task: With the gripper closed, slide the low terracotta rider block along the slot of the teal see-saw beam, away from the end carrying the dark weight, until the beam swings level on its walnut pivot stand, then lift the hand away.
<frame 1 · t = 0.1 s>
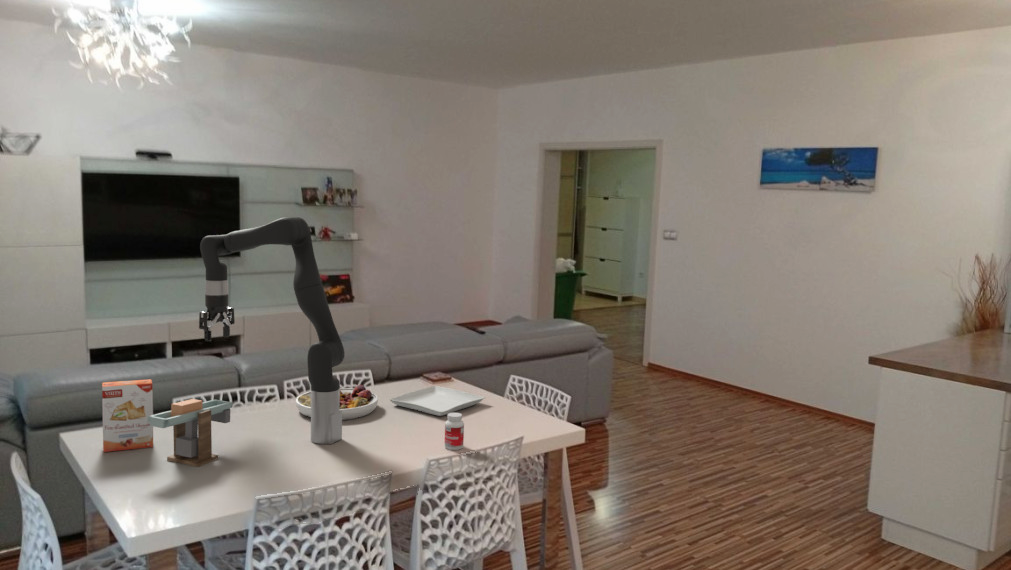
hand: (217, 339, 256), 29 cm above the table, tool pointing down, fingers open, 8 cm apart
bowl: (337, 411, 277), on the table
beam: (191, 431, 221), point 9 cm above the table, hinge at 3.1°, touching rider
square plate: (437, 406, 288), on the table
rider: (186, 415, 218), point 14 cm above the table, touching beam
cracker box: (128, 448, 230), on the table
pivot stand: (192, 459, 222), on the table
pill bottle: (453, 447, 240), on the table
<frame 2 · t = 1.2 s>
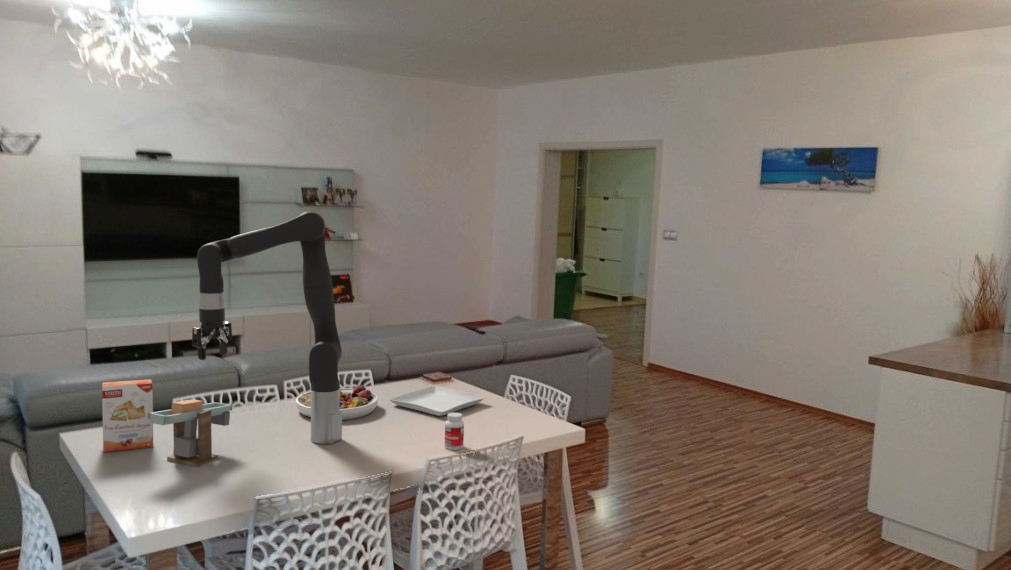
hand: (212, 357, 233), 28 cm above the table, tool pointing down, fingers open, 8 cm apart
beam: (190, 431, 220), point 9 cm above the table, hinge at 7.1°, touching rider
everything else where it was.
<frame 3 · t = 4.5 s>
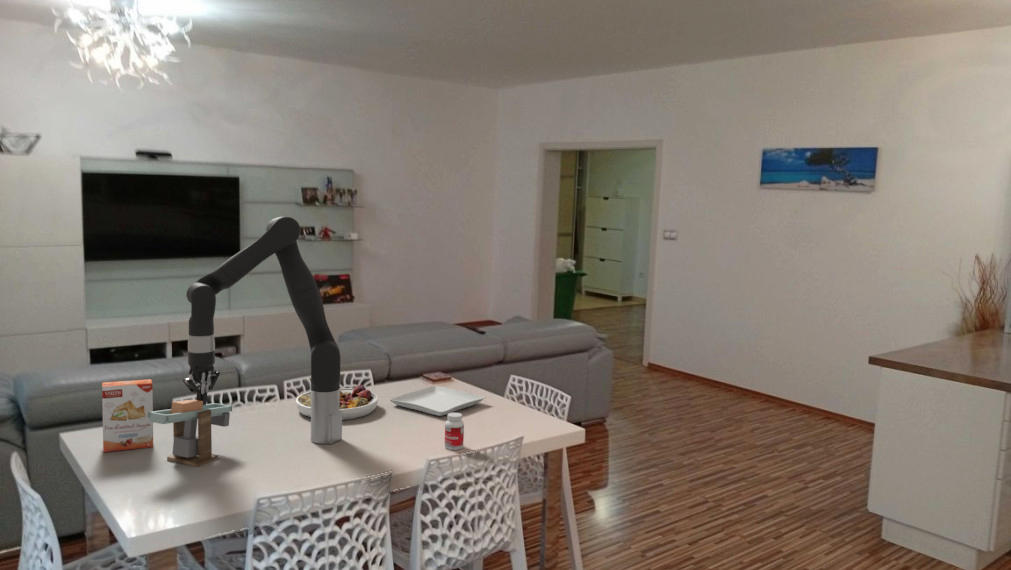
hand: (202, 405, 224), 16 cm above the table, tool pointing down, fingers closed
beam: (190, 431, 220), point 9 cm above the table, hinge at 8.4°, touching rider
rider: (186, 415, 218), point 14 cm above the table, tilted 8°, touching beam, gripper
everything else where it was.
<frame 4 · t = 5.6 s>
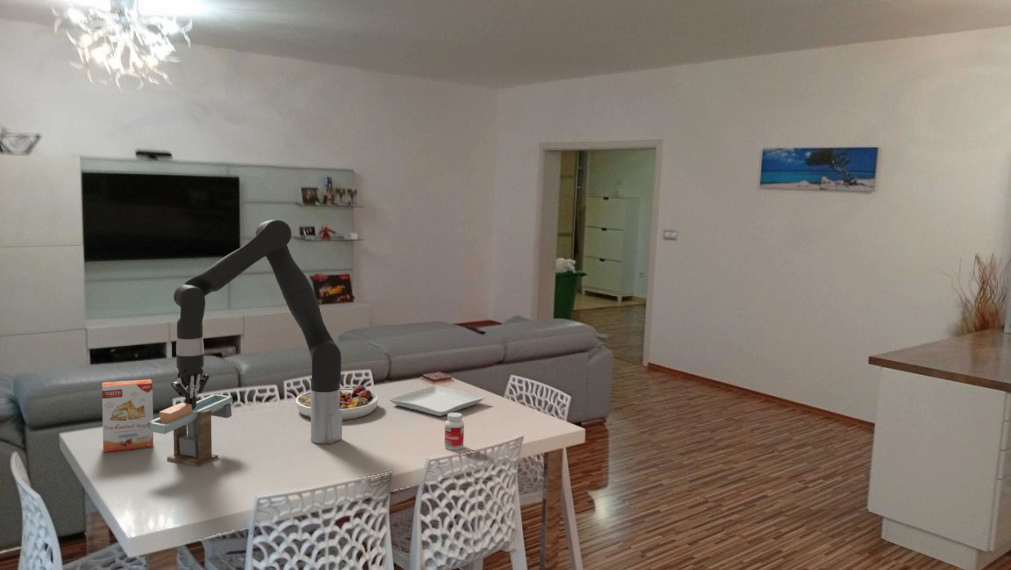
hand: (191, 409, 220), 16 cm above the table, tool pointing down, fingers closed
beam: (193, 430, 221), point 9 cm above the table, hinge at -4.8°, touching rider
rider: (176, 421, 215), point 13 cm above the table, touching beam, gripper
everything else where it was.
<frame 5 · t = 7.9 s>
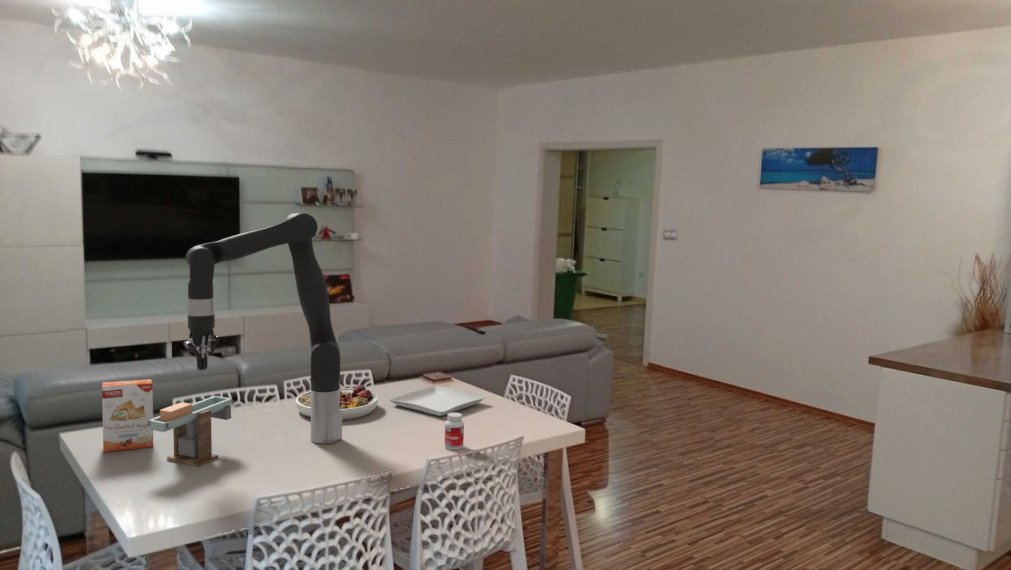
hand: (202, 369, 223), 27 cm above the table, tool pointing down, fingers closed
beam: (193, 430, 221), point 9 cm above the table, hinge at -2.0°, touching rider
rider: (176, 420, 215), point 14 cm above the table, touching beam
everything else where it was.
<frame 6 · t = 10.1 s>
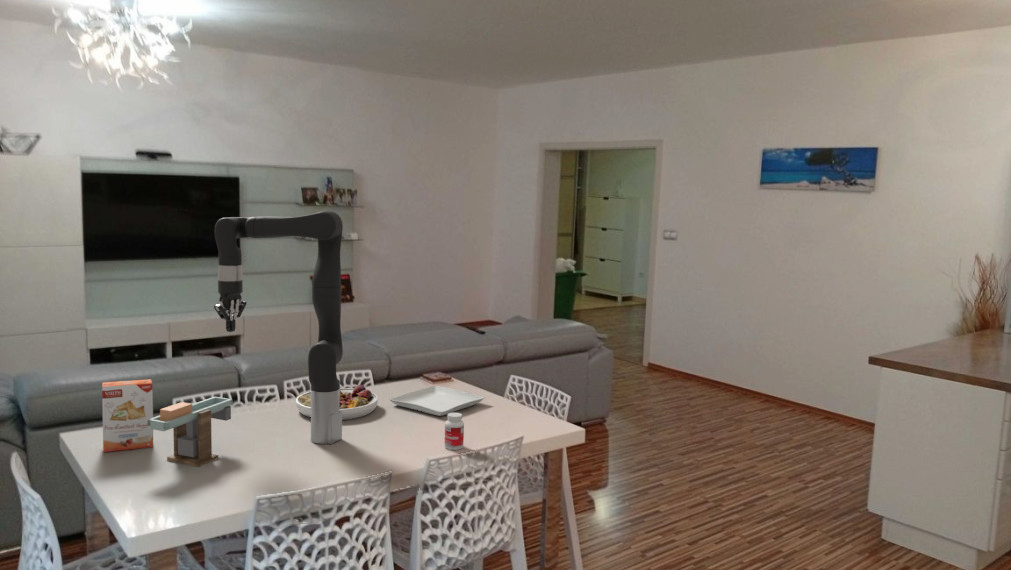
hand: (230, 331, 241), 35 cm above the table, tool pointing down, fingers closed
beam: (192, 430, 221), point 9 cm above the table, hinge at -1.0°, touching rider
everything else where it was.
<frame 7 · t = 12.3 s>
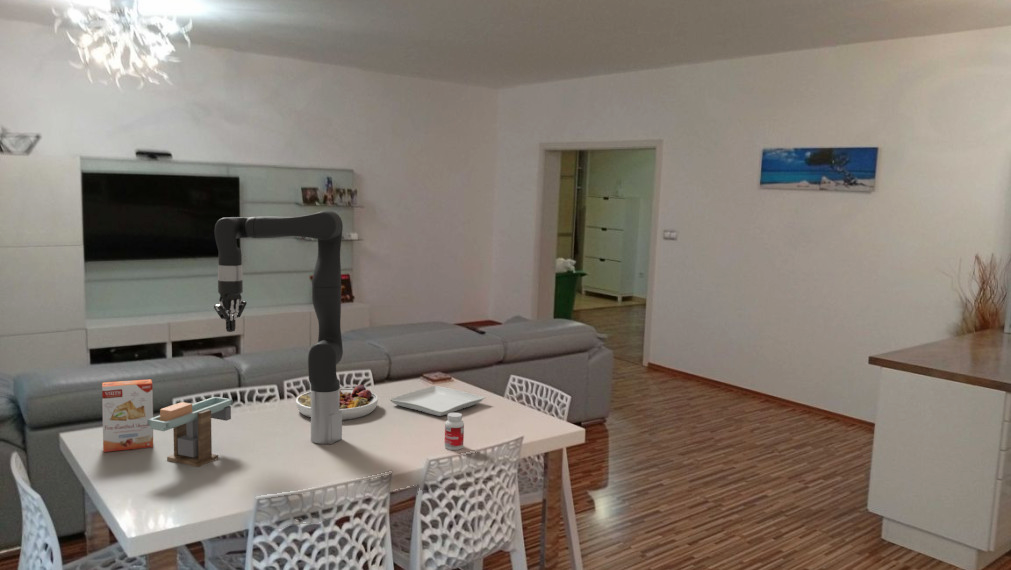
hand: (230, 331, 241), 35 cm above the table, tool pointing down, fingers closed
nothing on the table moved.
at the end: beam at -1° (first picture: +2°); rider 0.3 cm from the target spot on the beam, point -1.1 cm above the beam's base; rider tilted 1° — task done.
